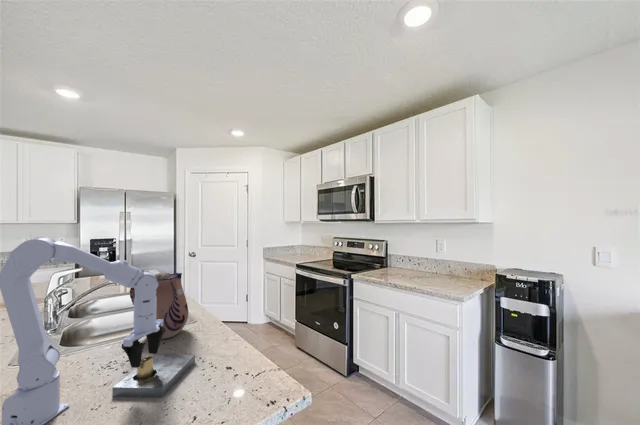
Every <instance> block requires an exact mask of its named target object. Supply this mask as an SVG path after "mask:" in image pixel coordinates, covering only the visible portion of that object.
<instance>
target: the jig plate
mask: <svg viewBox="0 0 640 425" xmlns="http://www.w3.org/2000/svg"><path fill="white" fill-rule="evenodd" d="M151 357H153V377H152V378H150V379H147V380H144V381H137V368H135V369H134V370H133V371H132V372H131V371H130V373H129V374H127V375H126V376H125V377H124V378H122V379H121V380H119V382H118V383H116V384H115V385H113V387H112V389H111V390H112V394H111V396H112V398H113V397H115V398H116V397H119V398H120V397H121V398H157V397H158V398H163V397H165V395H167V393H169V391H170V390H171V388H173V387H174V386H175V385H176V383H178V381H180V379H181V378H182V377H183V376H184V375H185V374H186V373H187V372H188V370H189V369H190V368H191V367H192V366H193V365H194V364H195V363H196V354H171V353H169V354H163V353H161V354H159V353H156V354H152V355H151ZM172 386H173V387H172Z"/></svg>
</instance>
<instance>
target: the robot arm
mask: <svg viewBox="0 0 640 425" xmlns="http://www.w3.org/2000/svg"><path fill="white" fill-rule="evenodd" d="M52 259H53V261H52V263H54V264H56V263H63V262H64V263H66V262H70V263H74V264H77V265H79V266H82V267H86V268H89V269H91V270H94V271H97V272H100V273H101V274H103V276H104V279H105V280H107V281H109V282H112V283H114V284H118V285H120V286H123V287H125V288H129V289H131V288H134V289H135V299H134V305H133V329H132V330H131V332H129V334H128V335H127V336H126V337H125V338H123V342H122V344H121V349H122V350H123V351H124V353H125V354H126V356H127V357H128V361H129V364H130V366H131V367H130V368H133V369H134V368H135V369H137V368H138V367H140V364H141V358H142V355H143V350H144V347H145V346H146V342H141V341H139V340H140V339H142V338H143V337H145V336H146V339H147V346H148V347H147V348H148V353H149V355H154V354H158V350H159V347H160V343H161V340H162V339H161V338H162V336H163V334H164V332H165V327H161V326H163V319H157V320H156V308H157V297H156V289H157V287H158V281H157V279H156V277H155V276H154V275H155V274H153V273H152V272H150V271H149V270H146V269H145V268H142V267H141V268H138V267H136V266H134V265H131V264H129V263H130V262H129V261H127V260H125V259H124V260H123V261H122V260H115V261H108V260H106V259H104V258H102V257H100V256H97V255H96V254H93V253H91V252H89V251H86V250H84V249H82V248H80V247H78V246H75V245H73V244H70V243H67V242H63V241H60V240H57V241H56V240H55V239H53V238H51V237H47V236H40V237H35V238H33V239H32V238H31V239H28V240H26V241H23V242H21V243H20V244H19V245H18V246H17V247H15V248H14V249H12V251H10V252H9V254H8V258H7V259H6V261H5V263H4V265H3V267H1V270H0V292H1V296H2V298H3V302H4V306H5V308H6V312H7V315H8V318H9V322H10V325H11V328H12V331H13V332H12V333H13V334H14V338H15V341H16V344H17V347H18V356H17V357H18V358H17V364H18V372H17V375H16V382H17V384H18V385H17V388H16V390H15V391H14V392H13V393H11V394H10V395H9V396H8V397H7V398H5V399H4V401H3V403H2V405H1V425H45V424H47V423H48V422H50V421H51V420H52V419H54V418H55V417H56V416H57V415H59V414H61V413H62V412H63V411H64V410H66V409H67V408H68V407H70V403H61V402H60V401H61V399H60V398H61V397H60V396H61V372H60V371H59V370H58V369H57V367H56V366H57V363H58V362H59V361H60V358H61V352H60V350H59V348H57V347H55V346H54V345H53V343H52V341H51V338H49V337H48V334H47V332H46V329H45V326H44V323H43V318H42V314H41V312H40V308H39V305H38V302H37V298H36V294H35V291H34V288H33V285H32V281H31V277H32V276H33V275H34V274H35V273H36V272H37V270H38V269H40V267H41V266H43V265H44V264H46V263H47V262H49V261H50V260H52Z"/></svg>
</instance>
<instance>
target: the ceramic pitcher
mask: <svg viewBox="0 0 640 425" xmlns="http://www.w3.org/2000/svg"><path fill="white" fill-rule="evenodd" d="M153 275H154V276H155V277H156V279H157V281H158V287H157V289H156V297H157V308H156V320H157V319H163V326H161V327H165V332H164V334H163V336H162V338H161V340H165V339H170V338H172V337H174V336H176V335H177V334H179V333H181V331H182V330H183V328H184V327H185V325H186V324H187V322H188V318H189V308H188V302H187V298H186V295H185V292H184V289H183V288H184V287H183V286H182V276H183V273H182V272H174V273H170V272H159V273H156V274H153ZM129 297H130V300H131V302H132V304H133V306H134V299H135V289H134V288H129Z"/></svg>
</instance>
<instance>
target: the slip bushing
mask: <svg viewBox="0 0 640 425" xmlns="http://www.w3.org/2000/svg"><path fill="white" fill-rule="evenodd" d="M136 369H137V381H144V380H147V379H150V378H152V377H153V357H152V355H151V356H149V355H148V356H143V357H141V364H140V367H138V368H136Z"/></svg>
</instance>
